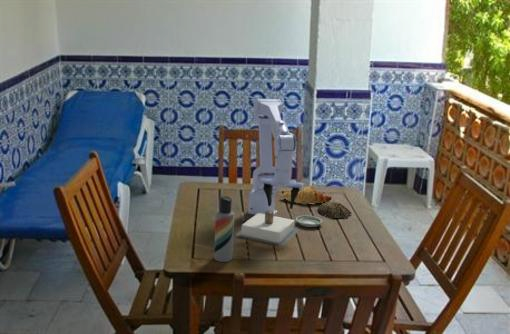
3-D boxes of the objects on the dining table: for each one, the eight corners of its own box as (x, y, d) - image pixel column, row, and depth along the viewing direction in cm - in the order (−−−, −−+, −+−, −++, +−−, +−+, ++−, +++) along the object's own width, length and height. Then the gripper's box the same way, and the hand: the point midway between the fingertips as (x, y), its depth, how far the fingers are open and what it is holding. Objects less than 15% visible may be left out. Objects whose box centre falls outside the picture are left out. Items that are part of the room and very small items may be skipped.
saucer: (327, 226, 203) (327, 220, 202) (311, 232, 196) (311, 226, 195) (306, 219, 209) (306, 213, 209) (290, 225, 202) (290, 218, 202)
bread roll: (313, 210, 220) (314, 198, 219) (340, 207, 225) (341, 196, 224) (329, 221, 209) (330, 208, 208) (357, 218, 213) (358, 206, 212)
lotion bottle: (213, 254, 173) (216, 194, 168) (231, 254, 174) (234, 194, 168) (213, 262, 168) (216, 200, 162) (232, 262, 168) (235, 200, 163)
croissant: (279, 210, 228) (280, 196, 222) (280, 192, 235) (281, 179, 230) (331, 212, 227) (333, 199, 222) (330, 195, 234) (332, 181, 229)
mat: (234, 235, 189) (234, 234, 189) (254, 220, 204) (254, 220, 204) (283, 246, 182) (283, 245, 182) (300, 230, 197) (300, 229, 197)
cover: (241, 234, 189) (242, 214, 187) (257, 222, 202) (258, 203, 200) (279, 243, 184) (281, 222, 182) (294, 229, 197) (295, 210, 195)
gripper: (259, 169, 186) (257, 207, 190) (302, 174, 183) (299, 212, 187) (264, 164, 193) (262, 201, 196) (305, 169, 190) (302, 206, 193)
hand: (280, 206), depth 192 cm, fingers open, 7 cm apart
